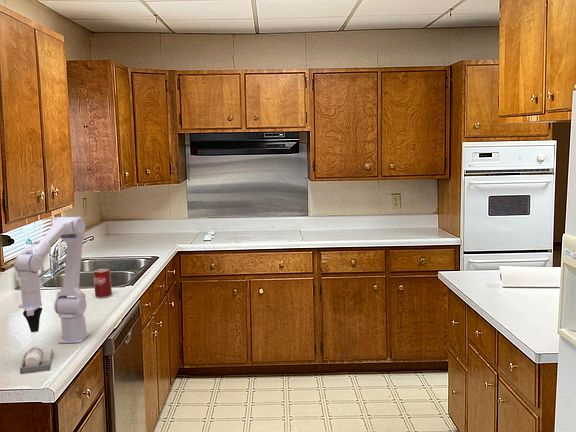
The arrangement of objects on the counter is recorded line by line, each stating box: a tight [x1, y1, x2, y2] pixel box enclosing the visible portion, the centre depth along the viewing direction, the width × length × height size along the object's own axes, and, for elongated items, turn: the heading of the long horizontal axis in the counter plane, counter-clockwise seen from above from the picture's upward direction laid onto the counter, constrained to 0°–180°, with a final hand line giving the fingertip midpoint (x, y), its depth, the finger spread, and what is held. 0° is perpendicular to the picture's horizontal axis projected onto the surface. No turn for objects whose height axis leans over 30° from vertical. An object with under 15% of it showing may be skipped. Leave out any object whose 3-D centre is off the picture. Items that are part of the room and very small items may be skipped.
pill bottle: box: [25, 346, 44, 367], centre depth 209 cm, size 5×5×8 cm
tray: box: [19, 349, 55, 375], centre depth 211 cm, size 15×9×2 cm, turn 15°
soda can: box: [92, 268, 113, 299], centre depth 295 cm, size 7×7×12 cm
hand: (34, 331), depth 214 cm, fingers closed
